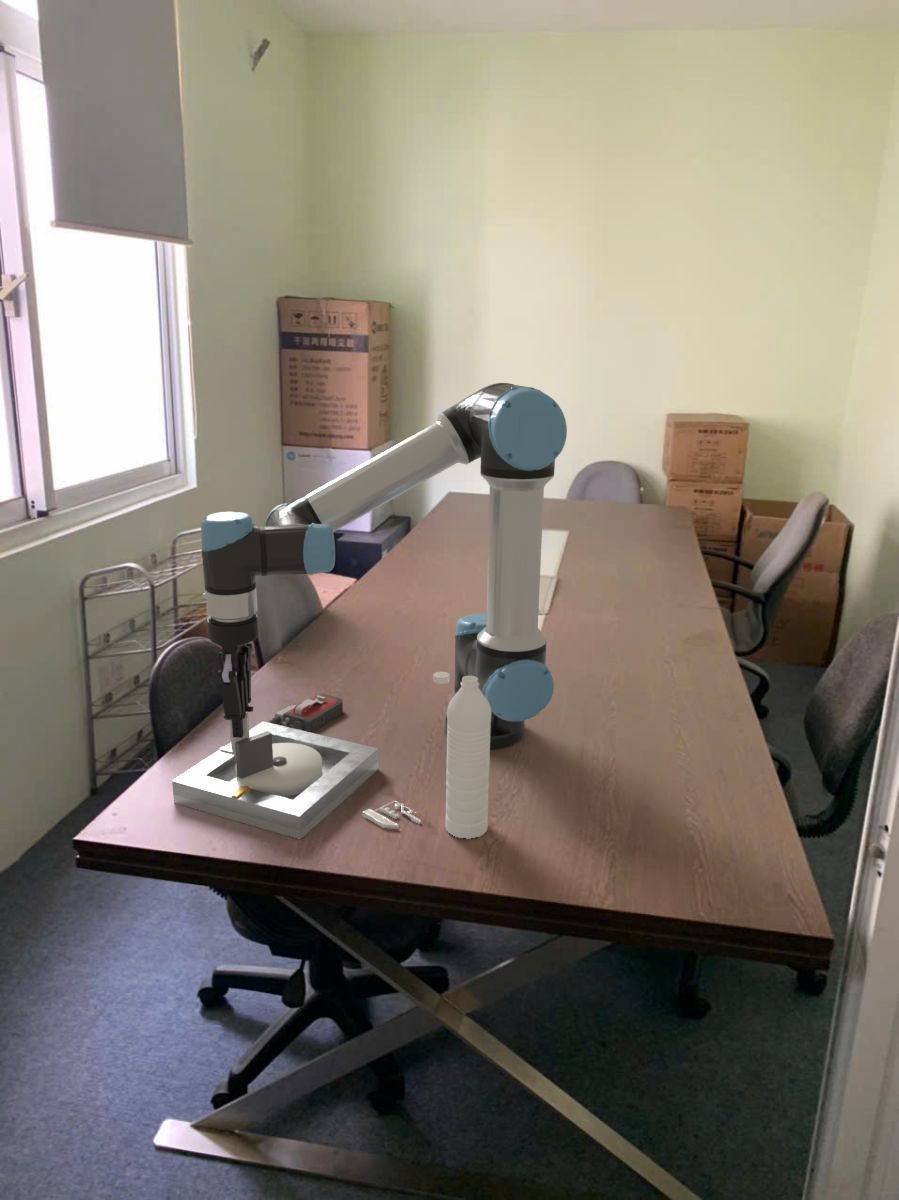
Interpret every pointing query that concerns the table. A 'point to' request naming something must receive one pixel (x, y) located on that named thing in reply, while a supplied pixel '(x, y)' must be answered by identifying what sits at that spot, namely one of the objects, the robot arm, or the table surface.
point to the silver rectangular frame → (291, 815)
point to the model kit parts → (386, 822)
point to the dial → (276, 765)
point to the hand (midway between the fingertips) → (241, 751)
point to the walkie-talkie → (309, 713)
